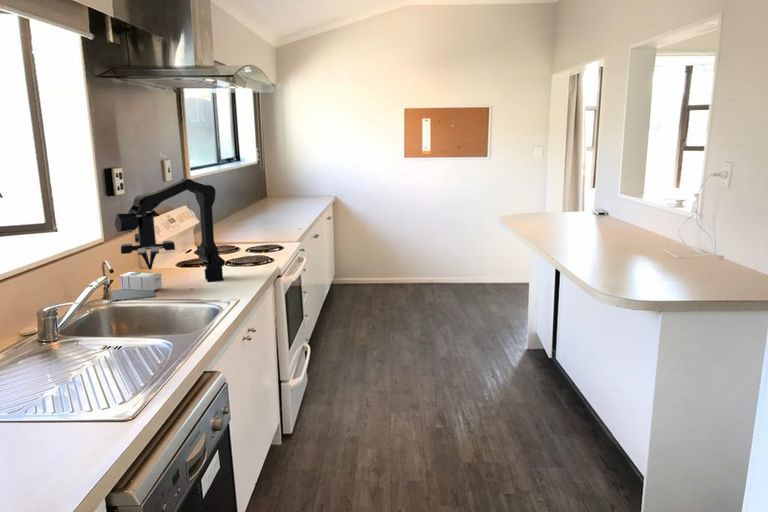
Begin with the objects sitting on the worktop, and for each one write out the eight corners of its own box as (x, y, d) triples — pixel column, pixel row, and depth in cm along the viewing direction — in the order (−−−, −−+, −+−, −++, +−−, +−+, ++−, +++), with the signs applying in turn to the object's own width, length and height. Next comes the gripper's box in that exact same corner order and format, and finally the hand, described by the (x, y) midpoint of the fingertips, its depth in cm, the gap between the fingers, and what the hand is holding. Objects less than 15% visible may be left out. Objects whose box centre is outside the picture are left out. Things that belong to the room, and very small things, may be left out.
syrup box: (152, 276, 212) (119, 274, 215) (153, 291, 213) (120, 289, 216) (161, 273, 217) (128, 271, 220) (162, 287, 219) (130, 285, 222)
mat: (153, 287, 221) (153, 285, 221) (155, 297, 207) (155, 295, 207) (108, 291, 215) (108, 290, 215) (107, 302, 201) (107, 300, 201)
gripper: (171, 224, 220) (174, 262, 223) (119, 227, 212) (123, 267, 216) (173, 228, 210) (176, 268, 213) (119, 231, 202) (123, 273, 206)
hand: (150, 269), depth 212 cm, fingers closed
